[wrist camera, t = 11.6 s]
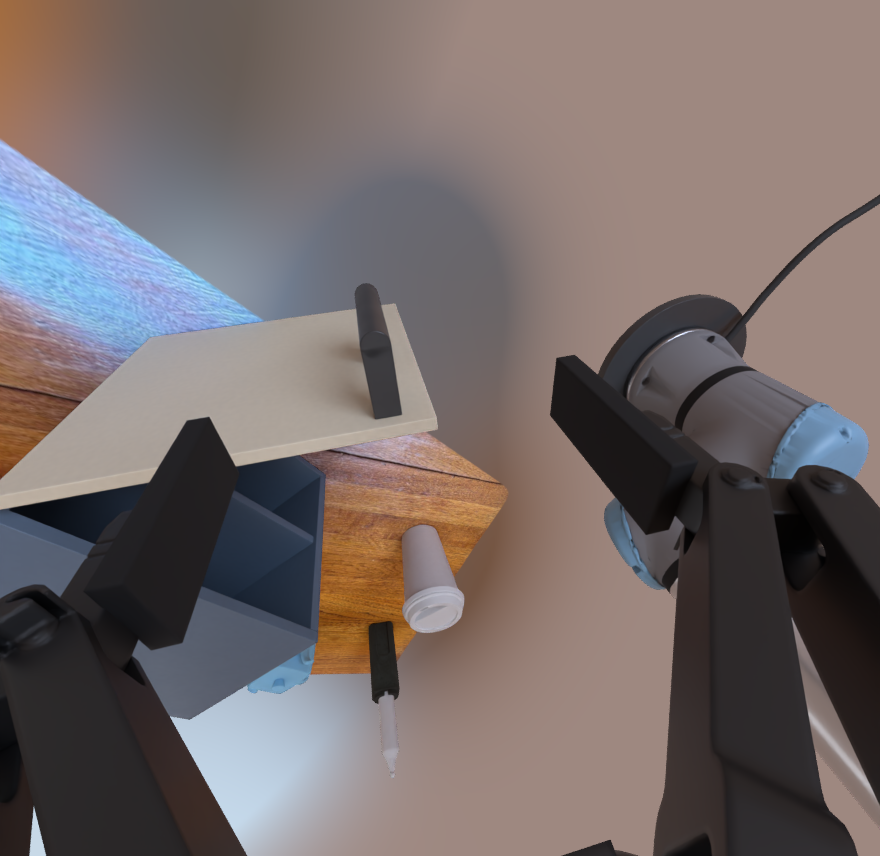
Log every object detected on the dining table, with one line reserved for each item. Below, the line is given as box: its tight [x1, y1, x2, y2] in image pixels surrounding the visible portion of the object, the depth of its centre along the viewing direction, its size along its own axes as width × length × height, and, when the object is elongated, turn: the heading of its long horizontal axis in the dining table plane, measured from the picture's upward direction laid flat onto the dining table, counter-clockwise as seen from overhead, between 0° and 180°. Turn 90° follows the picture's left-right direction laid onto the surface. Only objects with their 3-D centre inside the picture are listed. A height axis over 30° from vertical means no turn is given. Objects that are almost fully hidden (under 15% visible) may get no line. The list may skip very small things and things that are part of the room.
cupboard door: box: [0, 283, 438, 510], centre depth 31 cm, size 7×26×24 cm, turn 94°
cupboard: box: [0, 455, 326, 720], centre depth 40 cm, size 18×26×24 cm
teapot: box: [247, 644, 315, 694], centre depth 72 cm, size 18×14×10 cm
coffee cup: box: [402, 525, 464, 633], centre depth 62 cm, size 10×10×15 cm
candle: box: [369, 621, 399, 778], centre depth 73 cm, size 5×5×25 cm
